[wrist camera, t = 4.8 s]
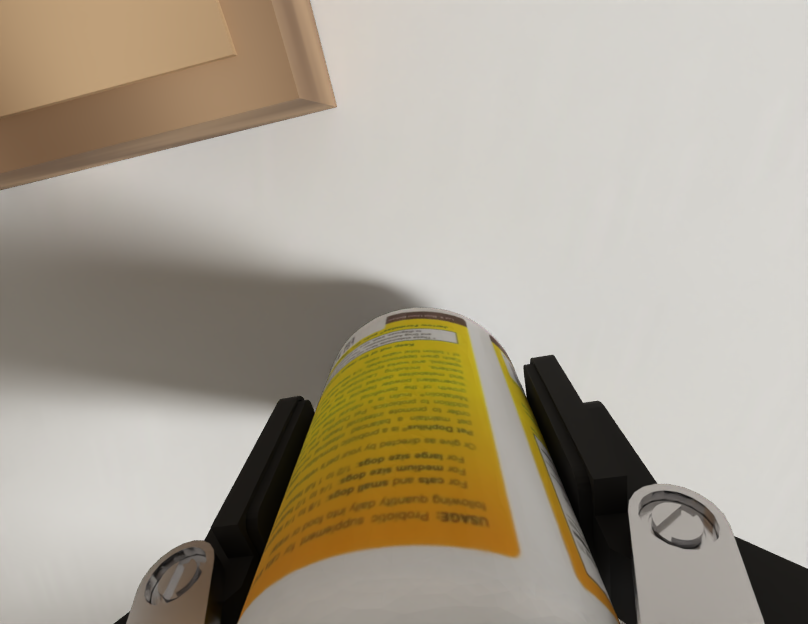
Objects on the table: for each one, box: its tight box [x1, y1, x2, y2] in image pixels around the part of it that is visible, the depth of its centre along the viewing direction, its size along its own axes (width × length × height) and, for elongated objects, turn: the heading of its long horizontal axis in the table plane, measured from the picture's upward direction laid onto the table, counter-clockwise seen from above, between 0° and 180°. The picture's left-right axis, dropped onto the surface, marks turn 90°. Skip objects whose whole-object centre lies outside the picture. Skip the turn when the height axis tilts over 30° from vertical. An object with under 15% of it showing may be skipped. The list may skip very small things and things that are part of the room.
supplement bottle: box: [237, 308, 620, 624], centre depth 8 cm, size 6×6×10 cm
